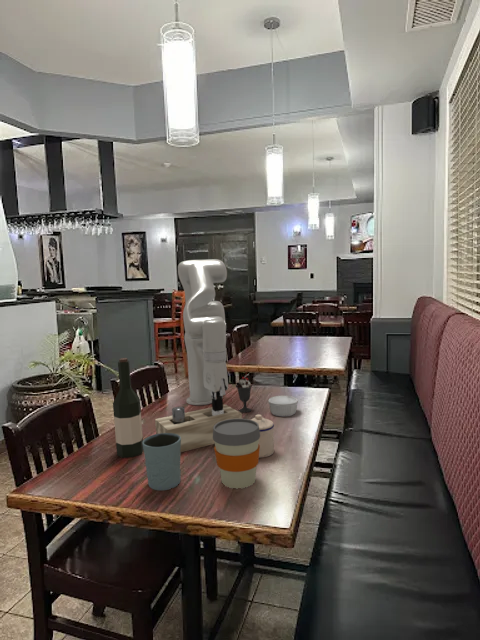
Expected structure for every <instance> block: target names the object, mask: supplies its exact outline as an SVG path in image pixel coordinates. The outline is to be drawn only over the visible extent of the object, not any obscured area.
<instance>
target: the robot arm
mask: <svg viewBox="0 0 480 640" xmlns="http://www.w3.org/2000/svg"><path fill="white" fill-rule="evenodd" d="M177 275H178V279H179V280H180V283H181V285H182V288H183V291H184V297H185V298H184V299H185V305H184V308H183V312H182V313H183V316H182V317H183V325H184V331H185V333H184V337H183V338H184V343H185V348H186V353H187V356H186V357H187V367H188V382H189V383H188V384H189V385H188V386H189V397H187V398H186V403H187V404H188V405H191V406H206V405H210V404H211V407H212V409H213V410H214V411H219V410H223V405H224V404H223V403H224V402H223V399H224V397H225V396H227V394H226V393H227V391H228V389H229V377H228V376H229V375H228V369H227V363H226V361H227V345H226V344H227V332H226V331H227V323H226V314H225V308H224V304H223V303H222V302H220V301H219V300H214V299H215V297H216V290H215V285H214V284H215V283H216V284H217V283H218V284H219V283H225V281H226V280H227V277H228V270H227V267H226V265H225V263H224V262H223V261H222V260H221V259H217V258H214V259H212V258H210V259H189V260H188V259H187V260H183V261H181V262H179V264H178V265H177Z"/></svg>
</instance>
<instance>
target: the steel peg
mask: <svg viewBox="0 0 480 640" xmlns="http://www.w3.org/2000/svg"><path fill="white" fill-rule="evenodd" d="M220 414H224V409H223V410H219V411H214V410H213V409H212V416H215V415H220Z"/></svg>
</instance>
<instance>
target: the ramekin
mask: <svg viewBox="0 0 480 640" xmlns="http://www.w3.org/2000/svg"><path fill="white" fill-rule="evenodd" d="M267 403H268V405H269V409H270V410H269V411H270V413H271V414H272V415H274V416H276V417H292V416H293V415H295V414H296V411H297V408H298V403H299V400H298V398H296V397H294V396H291V395H276V396H272V397H269V399H267Z"/></svg>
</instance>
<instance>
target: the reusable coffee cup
mask: <svg viewBox="0 0 480 640" xmlns="http://www.w3.org/2000/svg"><path fill="white" fill-rule="evenodd" d="M259 438H260V430H259V424H258V423H257V422H255V421H253V420H251V419H248V418H242V419H228V420H224V421H221V422H218V423H216V424H215V425H214V427H213V440H214V441H215V444H214V447H213V450H214V454H215V460H216V465H217V467H218V469H219V473H220V478H221V480H220V481H221V483H223V484H224V485H225V486H224V485H223V484H222V485H223V486H224V487H226V486H227V487H226V488H228V487H229V489H233V488H236V489H235V490H237V489H238V488H241V489H246V488H249V487H250V485H251V486H253V485H254V484H255V483H256V477H257V475H256V474H257V466H258V465H259V460H260V459H259V458H260V457H259V450H260V445H259ZM253 483H254V484H253ZM248 486H249V487H248ZM245 487H246V488H245ZM238 490H239V489H238Z"/></svg>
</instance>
